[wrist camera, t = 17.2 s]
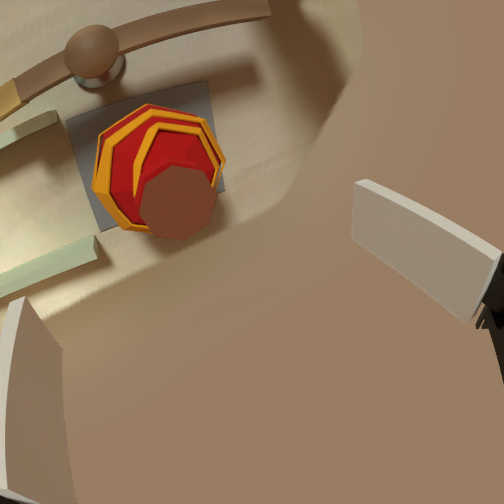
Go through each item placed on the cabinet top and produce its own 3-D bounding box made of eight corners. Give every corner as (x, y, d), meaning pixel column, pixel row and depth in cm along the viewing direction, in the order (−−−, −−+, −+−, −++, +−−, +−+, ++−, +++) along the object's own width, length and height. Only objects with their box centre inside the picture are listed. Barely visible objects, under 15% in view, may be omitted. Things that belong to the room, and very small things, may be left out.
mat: (100, 230, 28) (100, 231, 28) (66, 120, 21) (65, 120, 21) (224, 189, 32) (224, 190, 32) (206, 81, 25) (207, 81, 25)
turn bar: (261, 30, 20) (275, 25, 18) (4, 131, 15) (-7, 135, 13) (251, -8, 18) (264, -15, 16) (-10, 90, 13) (-21, 90, 11)
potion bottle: (88, 115, 22) (56, 131, 10) (194, 94, 25) (266, 93, 14) (108, 216, 27) (111, 312, 16) (204, 192, 31) (271, 264, 19)
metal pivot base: (76, 95, 20) (68, 94, 17) (68, 48, 18) (60, 39, 14) (127, 78, 22) (128, 74, 18) (120, 32, 19) (120, 20, 16)
